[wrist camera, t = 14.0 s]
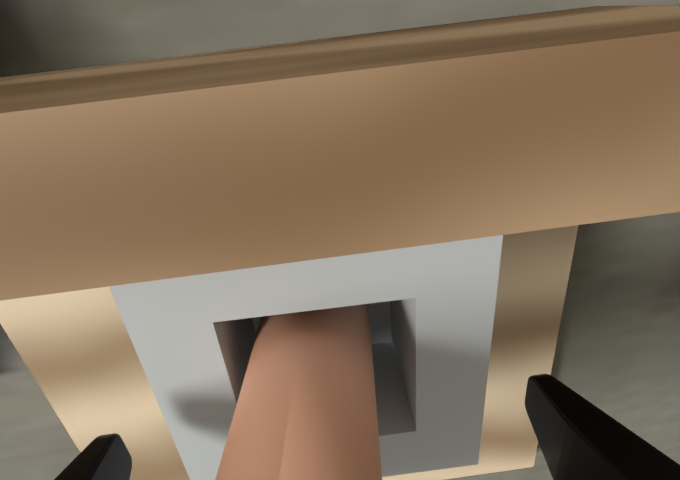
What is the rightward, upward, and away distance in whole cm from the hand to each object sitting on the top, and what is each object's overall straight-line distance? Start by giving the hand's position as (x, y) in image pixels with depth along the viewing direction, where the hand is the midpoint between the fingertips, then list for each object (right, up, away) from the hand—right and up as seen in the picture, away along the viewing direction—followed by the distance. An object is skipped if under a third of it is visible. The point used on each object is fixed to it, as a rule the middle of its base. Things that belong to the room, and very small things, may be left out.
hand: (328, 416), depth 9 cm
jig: (-1, +1, +8) cm, 8 cm away
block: (-1, +3, +5) cm, 6 cm away
